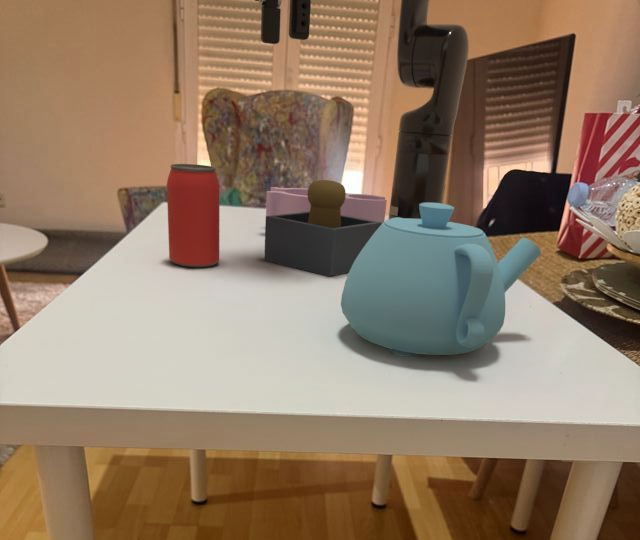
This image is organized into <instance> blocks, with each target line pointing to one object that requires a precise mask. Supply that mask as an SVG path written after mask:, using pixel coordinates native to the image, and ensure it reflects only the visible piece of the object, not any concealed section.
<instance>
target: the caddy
mask: <svg viewBox="0 0 640 540" xmlns="http://www.w3.org/2000/svg"><path fill="white" fill-rule="evenodd" d="M309 213H310V211H309V212H300V213H290V214H281V215H272V216H266V215H265V229H264V231H265V232H264V233H265V234H264V259H263V260H264V261H265V262H270V263H273V264H277V265H282V266H286V267H290V268H294V269H298V270H301V271H305V272H310V273H314V274H319V275H322V276H326V277H334V276H338V275H341V274H347V273H349V271H350V269H351V267H352V265H353V263H354V261H355V260H356V258H357V256H358V255H359V253H360V252H361V250H362V249H363V248H364V246H365V245H366V243H367V242H368V241H369V239H370V238H371V237H372V235H373V234H374V233H375V231H376V230H377V229H378V228H379V227H380V226H381V225H382V223H381V222H376V221H371V220H365V219H360V218H354V217H349V216H343V215H341V227H338V228H329V227H324V226H319V225H314V224H309V223H308V219H309Z"/></svg>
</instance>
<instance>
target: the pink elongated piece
mask: <svg viewBox="0 0 640 540" xmlns="http://www.w3.org/2000/svg"><path fill="white" fill-rule="evenodd" d="M307 195H308V188H305V187H277V186H270V190H268V191H266V202H265V203H266V204H265V217H266V216H272V215H281V214H290V213H300V212H309V211H310V208H311V204H310V202H309V201H308V196H307ZM387 202H388V201H387V199H386V197H385V196H380V195H374V194H363V193H348V192H346V196H345V201H344V203H343V205H342V206H341V207H340V211H341V215H343V216H349V217H354V218H360V219H365V220H371V221H376V222H381V223H384V222H385V221H386V220H385V219H386V210H387Z"/></svg>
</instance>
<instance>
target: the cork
mask: <svg viewBox="0 0 640 540" xmlns="http://www.w3.org/2000/svg"><path fill="white" fill-rule="evenodd" d="M307 189H308V195H307V196H308V201H309V202H310V204H311V208H310V213H309V219H308V223H309V224H314V225H319V226H324V227H329V228H338V227H341V211H340V207H341V206H342V205H343V203H344V201H345V196H346V193H347V192H346V188H345V186H344V185H343V184H342V183H341V182H337V181H335V180H331V179H330V180H329V179H319V180H314V181H312V182H311V183H310V184H309V186H308V188H307Z"/></svg>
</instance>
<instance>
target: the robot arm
mask: <svg viewBox="0 0 640 540" xmlns="http://www.w3.org/2000/svg"><path fill="white" fill-rule="evenodd" d="M282 1H283V0H254V2H258V4H259V6H261V11H260V12H261V15H260V17H261V18H260V40H261V42H262V43H263V44H269V45H270V44H271V45H277V44H279V43H280V41H281V37H280V36H281V14H282V13H281V11H282V8H281V4H282ZM311 4H312V0H289V16H288V17H289V18H288V36H289V38H290V39H292V40H300V41H306V40H308V39H309V37H310V23H311V7H312V5H311ZM429 5H430V0H400V8H399V9H400V10H399V20H398V31H397V33H398V35H397V46H396V47H397V48H396V67H397V74H398V78H399V81H400V82H401V84H402V85H403V86H404V87H406V88H410V89H420V90H421V89H423V90H432V94H431V96H430V99H429V100H427V101H426V102H425V103H424V104H422V105H421V106H419V107H417V108H415V109H412V110H409V111H406V112H404V113H402V114H401V116H400V118H399V125H398V127H399V128H398V135H397V143H396V144H397V145H396V152H395V161H394V171H393V176H392V177H393V178H392V186H391V195H390V204H389V209H388V210H389V211H388V219H387V220H389V219H391V218H396V217H399V218H411V219H421V215H420V210H419V204H421V203H441V204H444V196H445V190H446V179H447V173H448V172H447V171H448V166H449V160H450V152H451V145H452V139H453V134H454V127H455V123H456V119H457V116H458V112H459V106H460V100H461V96H462V90H463V86H464V81H465V75H466V71H467V65H468V60H469V49H470V48H469V47H470V45H469V35H468V32H467V30H466V28H465V27H464V26H463V25H460V24H456V23H455V24H453V23H428V13H429Z"/></svg>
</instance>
